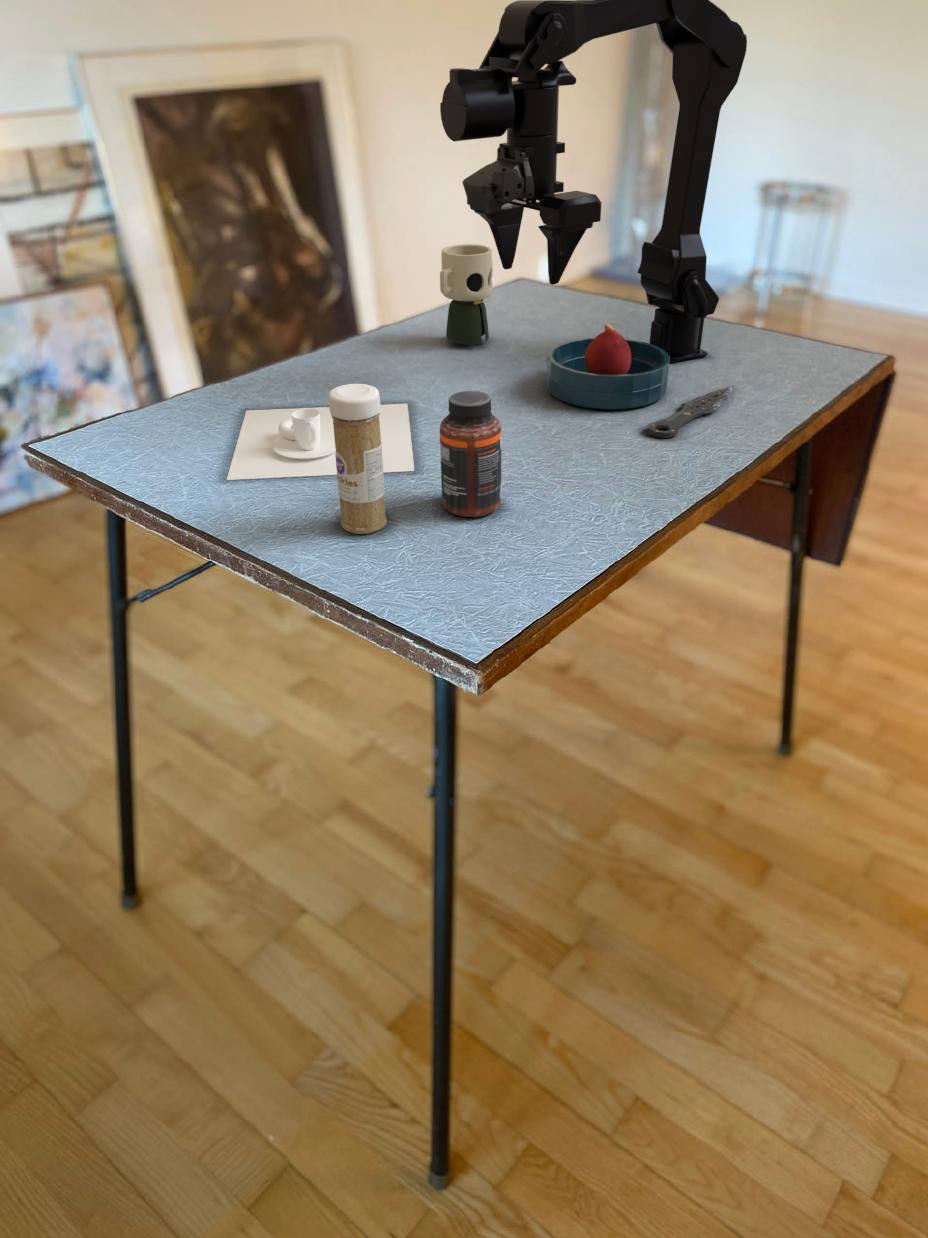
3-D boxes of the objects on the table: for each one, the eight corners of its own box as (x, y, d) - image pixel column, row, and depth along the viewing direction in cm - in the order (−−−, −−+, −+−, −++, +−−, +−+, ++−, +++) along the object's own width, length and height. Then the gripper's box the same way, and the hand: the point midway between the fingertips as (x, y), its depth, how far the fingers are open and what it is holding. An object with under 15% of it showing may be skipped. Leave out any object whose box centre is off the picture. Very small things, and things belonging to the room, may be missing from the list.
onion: (627, 379, 122) (633, 318, 118) (629, 395, 117) (635, 331, 113) (583, 378, 123) (586, 317, 118) (583, 394, 118) (587, 331, 113)
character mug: (461, 356, 132) (460, 260, 125) (424, 346, 136) (421, 252, 129) (509, 337, 139) (511, 245, 132) (473, 328, 143) (472, 239, 135)
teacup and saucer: (276, 432, 110) (271, 399, 107) (344, 429, 110) (341, 396, 108) (269, 464, 102) (265, 429, 100) (342, 460, 103) (339, 425, 101)
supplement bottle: (510, 499, 95) (512, 391, 88) (486, 524, 90) (487, 412, 84) (457, 488, 97) (455, 382, 90) (431, 513, 92) (427, 403, 86)
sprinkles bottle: (331, 526, 90) (317, 392, 83) (364, 509, 93) (354, 378, 86) (364, 540, 88) (353, 403, 80) (398, 523, 91) (390, 389, 83)
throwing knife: (638, 431, 108) (638, 426, 108) (718, 384, 121) (718, 379, 121) (671, 440, 106) (672, 435, 106) (749, 391, 119) (750, 387, 118)
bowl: (623, 363, 129) (626, 331, 126) (689, 399, 117) (694, 364, 115) (525, 380, 123) (526, 347, 121) (585, 420, 112) (587, 383, 109)
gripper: (427, 132, 108) (433, 272, 117) (526, 149, 95) (524, 304, 104) (504, 123, 113) (504, 257, 122) (608, 138, 100) (600, 287, 109)
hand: (530, 275), depth 114 cm, fingers open, 9 cm apart
